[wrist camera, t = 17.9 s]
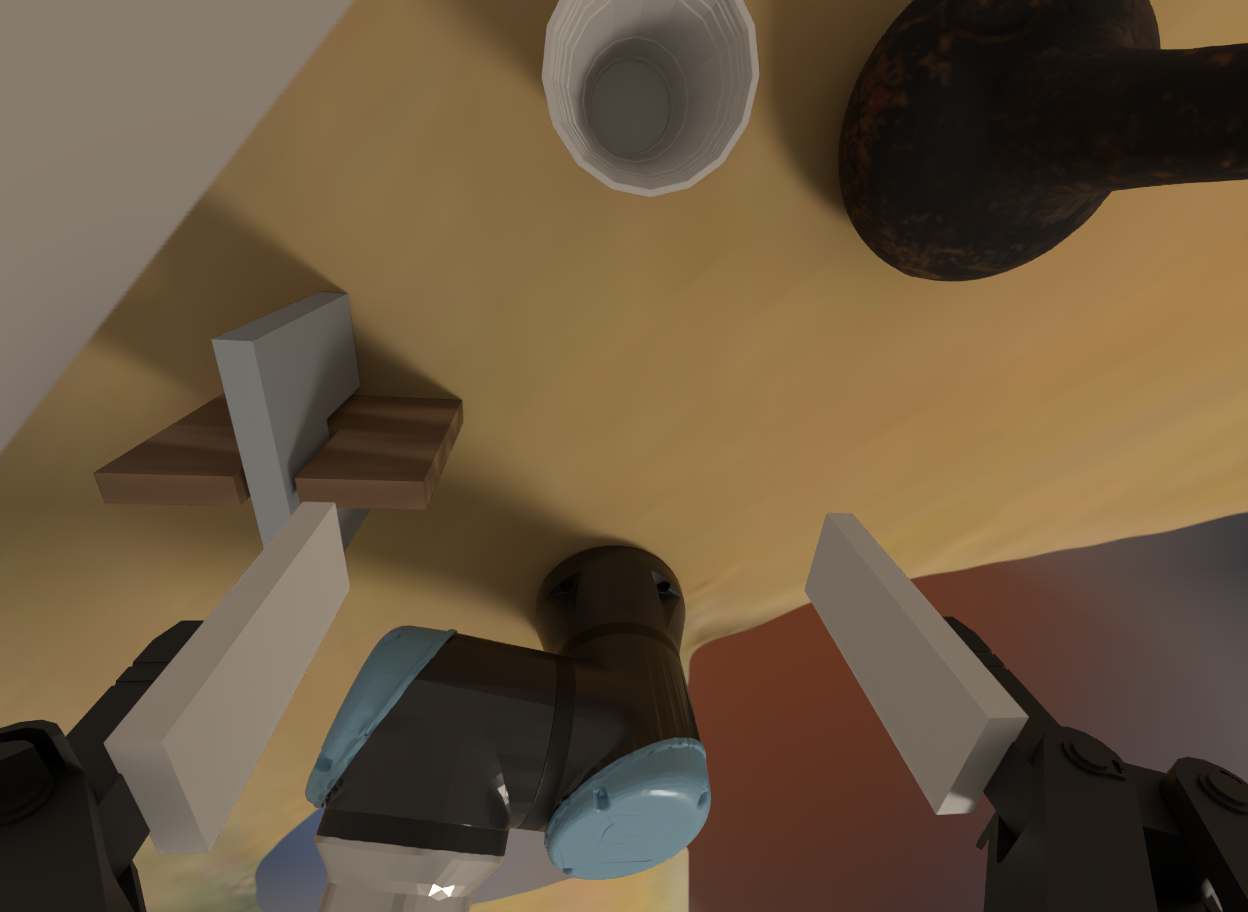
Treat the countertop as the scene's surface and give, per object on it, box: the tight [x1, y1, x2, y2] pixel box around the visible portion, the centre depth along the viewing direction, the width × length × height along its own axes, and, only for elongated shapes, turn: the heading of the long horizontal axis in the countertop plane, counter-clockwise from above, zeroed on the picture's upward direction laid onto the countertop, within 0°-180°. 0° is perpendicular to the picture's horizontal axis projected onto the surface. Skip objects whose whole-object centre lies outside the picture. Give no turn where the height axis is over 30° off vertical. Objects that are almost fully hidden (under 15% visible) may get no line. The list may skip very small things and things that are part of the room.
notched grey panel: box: [211, 292, 370, 551], centre depth 39 cm, size 18×2×14 cm, turn 175°
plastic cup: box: [542, 0, 760, 197], centre depth 32 cm, size 11×11×12 cm
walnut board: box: [94, 393, 463, 510], centre depth 39 cm, size 2×18×14 cm, turn 85°
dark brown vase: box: [838, 0, 1248, 281], centre depth 28 cm, size 18×18×28 cm
